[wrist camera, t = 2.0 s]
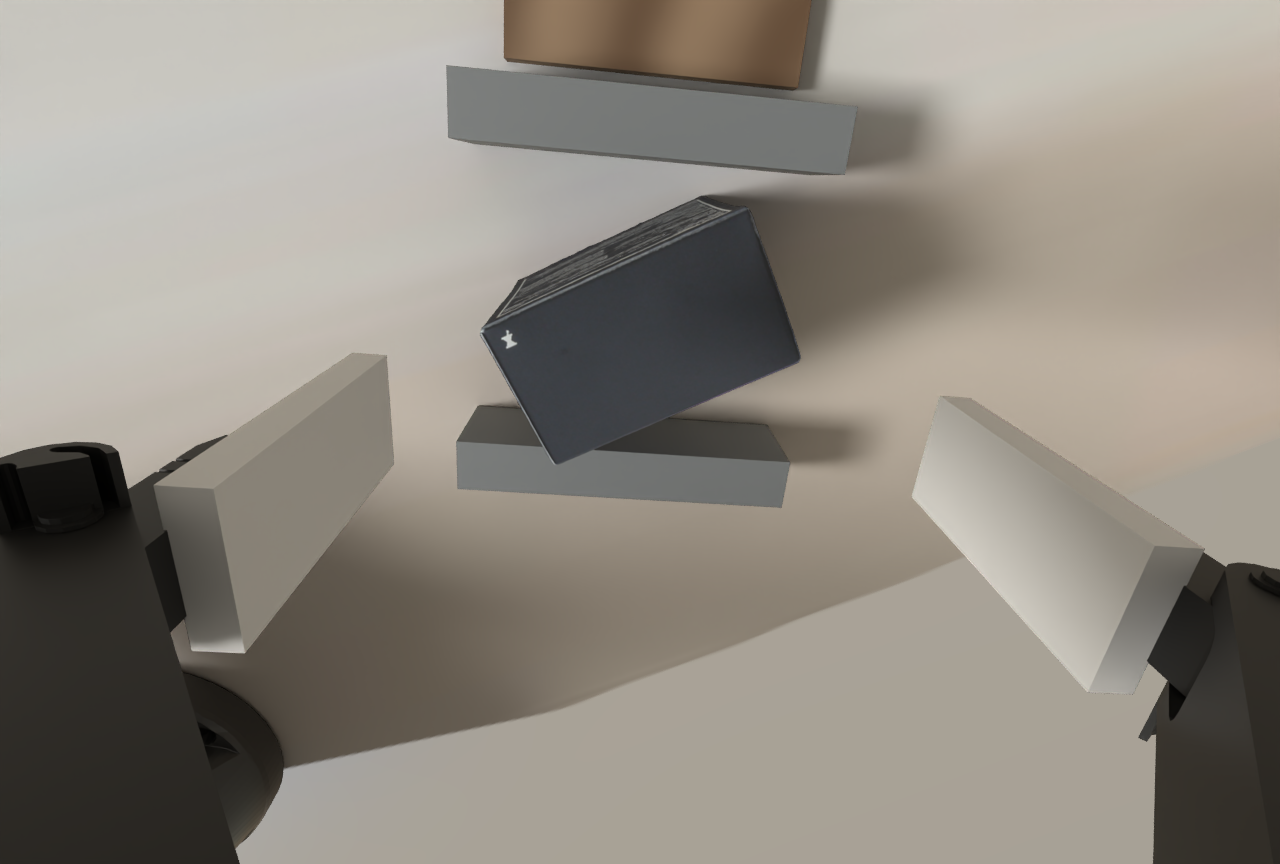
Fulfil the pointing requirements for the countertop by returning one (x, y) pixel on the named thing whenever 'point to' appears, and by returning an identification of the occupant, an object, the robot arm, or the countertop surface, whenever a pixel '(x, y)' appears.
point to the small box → (641, 327)
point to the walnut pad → (664, 38)
